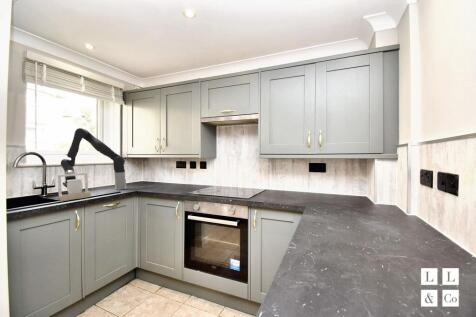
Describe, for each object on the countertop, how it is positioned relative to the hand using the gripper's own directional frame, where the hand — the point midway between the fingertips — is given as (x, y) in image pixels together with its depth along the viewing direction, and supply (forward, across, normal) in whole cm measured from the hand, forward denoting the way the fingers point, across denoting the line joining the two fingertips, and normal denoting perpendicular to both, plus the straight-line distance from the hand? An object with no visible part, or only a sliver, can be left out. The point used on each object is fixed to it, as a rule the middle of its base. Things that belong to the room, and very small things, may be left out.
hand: (72, 190), depth 187 cm
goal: (+11, 0, -5) cm, 13 cm away
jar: (+11, 0, -4) cm, 12 cm away
